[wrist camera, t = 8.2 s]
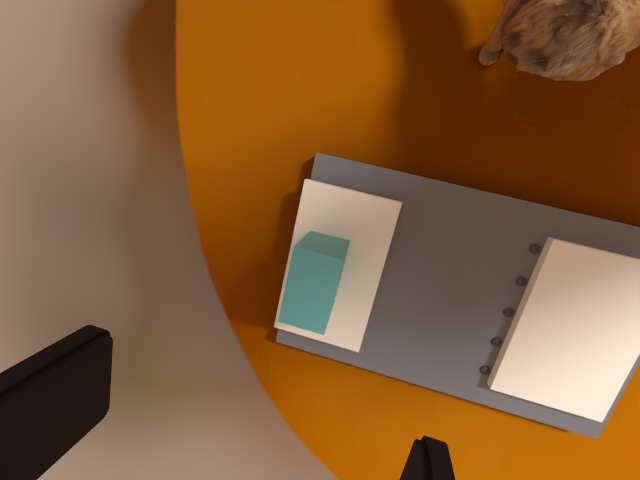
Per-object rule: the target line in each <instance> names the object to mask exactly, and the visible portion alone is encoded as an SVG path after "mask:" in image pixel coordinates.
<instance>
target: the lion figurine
mask: <svg viewBox="0 0 640 480" xmlns="http://www.w3.org/2000/svg"><path fill="white" fill-rule="evenodd" d="M502 3H503V6H504V10H503V11H502V13H501V15H500V17H499V19H498V21H497V24H496V26H495V28H494V30H493V32H492V34H491V36H490V37H489V39H488V40H487V42H486V43H485V44H484V46H483V48H482V50H481V52H480V54H479V57H478V58H479V62H480V63H481V64H482V65H484V66H490V65H491V64H493V63H496V62H497V60H498V53H499V52H500V51H501V49H502V48H503V49H504V58H505V59H507V60H508V61H514V63H515V67H516V69H517V70H520V71H525V72H527V73H531V74H538V75H540V76H542V77H546V78H549V79H552V80H554V81H557V80H559V81H565V80H568V81H578V82H581V81H585V80H592V79H593V78H595V77H597V76H598V75H599V74H601V73H602V72H604V71H605V70H608V69H609V68H611V67H613V66H616V65H618V64H620V63H622V61H623V60H624V59H625V54H626V52H629V51H631V50H633V49H635V48H636V47H637V46H639V45H640V0H502Z"/></svg>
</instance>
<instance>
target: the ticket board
mask: <svg viewBox="0 0 640 480" xmlns="http://www.w3.org/2000/svg"><path fill="white" fill-rule="evenodd" d="M310 180H314V181H318V182H322V183H326V184H330V185H335V186H339V187H343V188H347V189H351V190H355V191H359V192H363V193H368V194H372V195H376V196H380V197H384V198H388V199H392V200H396V201H401V202H402V205H401V209H400V212H399V216H398V219H397V222H396V226H395V229H394V233H393V236H392V240H391V243H390V247H389V250H388V253H387V257H386V260H385V264H384V267H383V271H382V274H381V278H380V281H379V284H378V288H377V291H376V295H375V298H374V302H373V305H372V308H371V312H370V315H369V319H368V322H367V326H366V329H365V333H364V336H363V339H362V343H361V346H360V350H359V352H355V351H352V350H349V349H345V348H342V347H339V346H335V345H332V344H329V343H325V342H322V341H319V340H315V339H312V338H308V337H305V336H302V335H298V334H295V333H292V332H288V331H285V330H282V329H278V333H277V337H276V342H278V343H281V344H284V345H288V346H291V347H294V348H297V349H301V350H304V351H307V352H311V353H314V354H317V355H321V356H324V357H327V358H330V359H334V360H337V361H340V362H344V363H347V364H350V365H353V366H357V367H360V368H363V369H367V370H370V371H373V372H377V373H380V374H383V375H386V376H390V377H393V378H396V379H400V380H403V381H406V382H409V383H413V384H416V385H419V386H423V387H426V388H429V389H433V390H436V391H439V392H442V393H446V394H449V395H452V396H456V397H459V398H462V399H466V400H469V401H472V402H475V403H479V404H482V405H485V406H489V407H492V408H495V409H498V410H502V411H505V412H508V413H512V414H515V415H518V416H522V417H525V418H528V419H531V420H535V421H538V422H541V423H545V424H548V425H551V426H554V427H558V428H561V429H564V430H568V431H571V432H574V433H578V434H581V435H584V436H587V437H591V438H594V439H597V440H598V438H599V436H600V434H601V433H602V431H603V429H604V427H605V425H606V423H607V422H608V420H609V418H610V416H611V414H612V413H613V411H614V409H615V407H616V405H617V403H618V402H619V400H620V398H621V396H622V394H623V393H624V391H625V389H626V387H627V385H628V384H629V382H630V380H631V378H632V376H633V374H634V373H635V371H636V369H637V367H638V365H639V364H640V227H637V226H633V225H628V224H624V223H620V222H616V221H611V220H607V219H603V218H598V217H594V216H590V215H585V214H581V213H577V212H572V211H568V210H564V209H560V208H555V207H551V206H547V205H542V204H538V203H534V202H529V201H525V200H521V199H517V198H512V197H508V196H504V195H499V194H495V193H491V192H486V191H482V190H478V189H474V188H469V187H465V186H461V185H456V184H452V183H448V182H443V181H439V180H435V179H431V178H426V177H422V176H418V175H413V174H409V173H405V172H400V171H396V170H392V169H388V168H383V167H379V166H375V165H370V164H366V163H362V162H357V161H353V160H349V159H344V158H340V157H336V156H332V155H327V154H323V153H319V152H316V154H315V159H314V164H313V169H312V173H311V178H310Z"/></svg>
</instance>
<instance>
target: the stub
mask: <svg viewBox="0 0 640 480" xmlns="http://www.w3.org/2000/svg"><path fill="white" fill-rule="evenodd" d="M401 205H402V202H401V201H396V200H392V199H388V198H384V197H380V196H376V195H372V194H368V193H363V192H359V191H355V190H351V189H347V188H343V187H339V186H335V185H330V184H326V183H322V182H318V181H314V180H310V179H305V180H304V185H303V190H302V194H301V199H300V204H299V209H298V213H297V218H296V223H295V228H294V233H293V237H292V242H291V247H290V252H289V257H288V261H287V266H286V271H285V276H284V280H283V285H282V290H281V295H280V300H279V304H278V309H277V314H276V319H275V323H274V327H275V328H278V329H282V330H285V331H288V332H292V333H295V334H298V335H302V336H305V337H308V338H312V339H315V340H319V341H322V342H325V343H329V344H332V345H335V346H339V347H342V348H345V349H349V350H352V351H355V352H359V350H360V346H361V343H362V339H363V336H364V333H365V329H366V326H367V322H368V319H369V315H370V312H371V308H372V305H373V302H374V298H375V295H376V291H377V288H378V284H379V281H380V278H381V274H382V271H383V267H384V264H385V260H386V257H387V253H388V250H389V247H390V243H391V240H392V236H393V233H394V229H395V226H396V222H397V219H398V216H399V212H400V209H401Z"/></svg>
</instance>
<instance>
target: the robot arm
mask: <svg viewBox="0 0 640 480" xmlns="http://www.w3.org/2000/svg"><path fill="white" fill-rule="evenodd" d="M112 347H113V340H112V338H111V337H110V333H109V331H107V330H105V329H102V328H99V327H96V326H92V325H87V326H85V327H83V328H81V329H79V330H77V331H76V332H74V333H72V334H70V335H68V336H66V337H65V338H63V339H61V340H59V341H57V342H56V343H54V344H52V345H50V346H49V347H47V348H45V349H43V350H41V351H39V352H38V353H36V354H34V355H32V356H30V357H28V358H27V359H25V360H23V361H21V362H19V363H18V364H16V365H14V366H12V367H10V368H9V369H7V370H5V371H3V372H2V373H0V480H37V479H38V478H39V477H40V476H41V475H42V474H43V473H45V472H46V471H47V470H48V469H49V468H50V467H51V466H52V465H53V464H54V463H55V462H56V461H58V460H59V459H60V458H61V457H62V456H63V455H64V454H65V453H66V452H67V451H69V450H70V449H71V448H72V447H73V446H74V445H75V444H76V443H77V442H78V441H79V440H80V439H82V438H83V437H84V436H85V435H86V434H87V433H88V432H89V431H90V430H91V429H92V428H94V427H95V426H96V425H97V424H98V423H99V422H100V421H101V420H102V419H103V418H104V417H105V415H106V414H107V412H108V409H109V403H110V402H109V401H110V384H111V366H112ZM400 480H455V477H454V472H453V468H452V463H451V459H450V454H449V450H448V446H447V444H446V443H445V442H443V441H440V440H436V439H433V438H430V437H427V436H424V437H423V438H422V440H418V439H416V440H415V441H414V443H413V446H412V448H411V451H410V454H409V456H408V459H407V462H406V464H405V467H404V470H403V472H402V475H401V477H400Z"/></svg>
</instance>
